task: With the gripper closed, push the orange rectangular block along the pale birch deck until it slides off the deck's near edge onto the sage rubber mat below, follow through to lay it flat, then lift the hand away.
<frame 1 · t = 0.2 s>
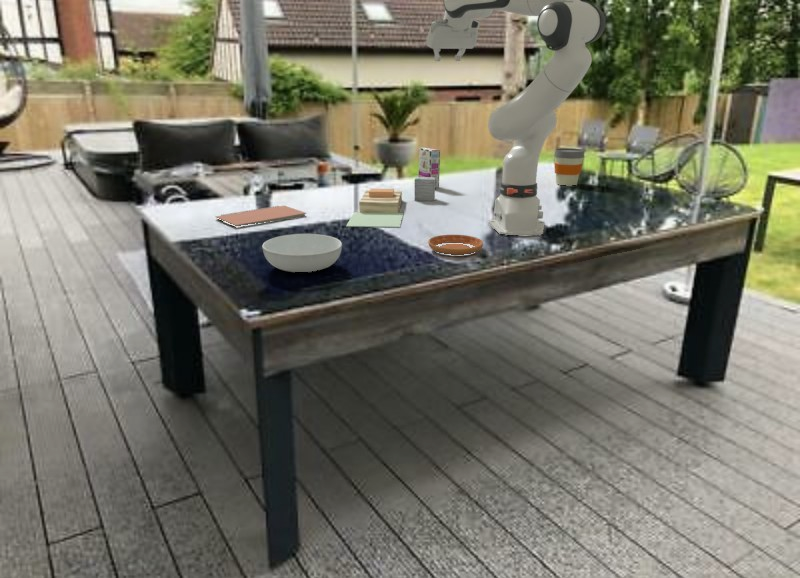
hand: (447, 60, 223), 52 cm above the table, tool tilted 20°, fingers open, 8 cm apart
saucer: (455, 251, 185), on the table
orange rectangular block: (381, 195, 238), point 4 cm above the table, touching deck
notebook: (261, 219, 223), on the table
mat: (375, 219, 219), on the table
reusable coffee cup: (566, 184, 280), on the table
candy bar box: (428, 187, 275), on the table
medicine box: (424, 200, 250), on the table
serving bowl: (303, 268, 169), on the table
deck: (381, 206, 239), on the table
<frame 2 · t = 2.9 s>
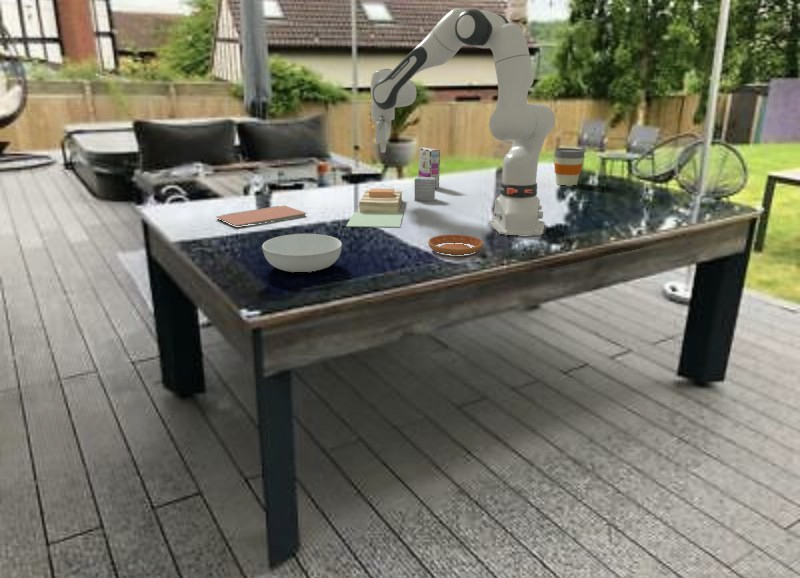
hand: (383, 152, 242), 19 cm above the table, tool pointing down, fingers closed
nothing on the table moved.
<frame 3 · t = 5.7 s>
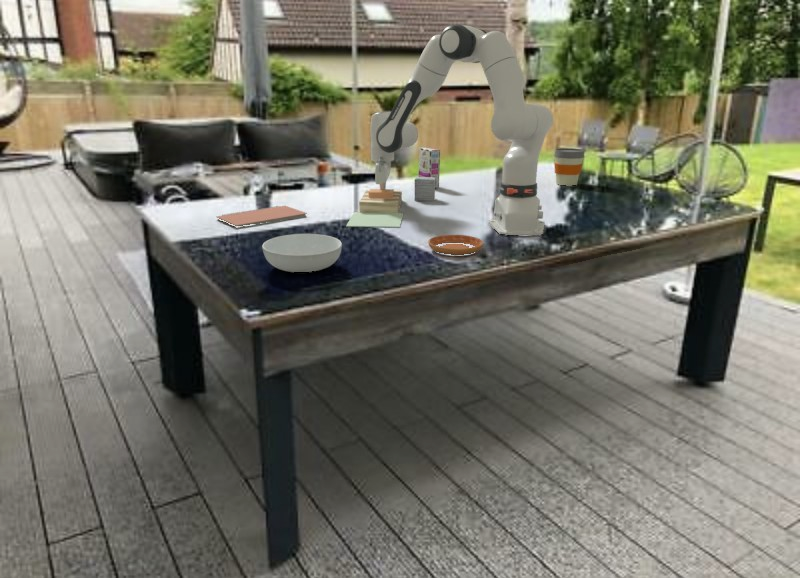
hand: (382, 192, 241), 5 cm above the table, tool pointing down, fingers closed
orange rectangular block: (381, 196, 237), point 4 cm above the table, touching gripper
everything else where it was.
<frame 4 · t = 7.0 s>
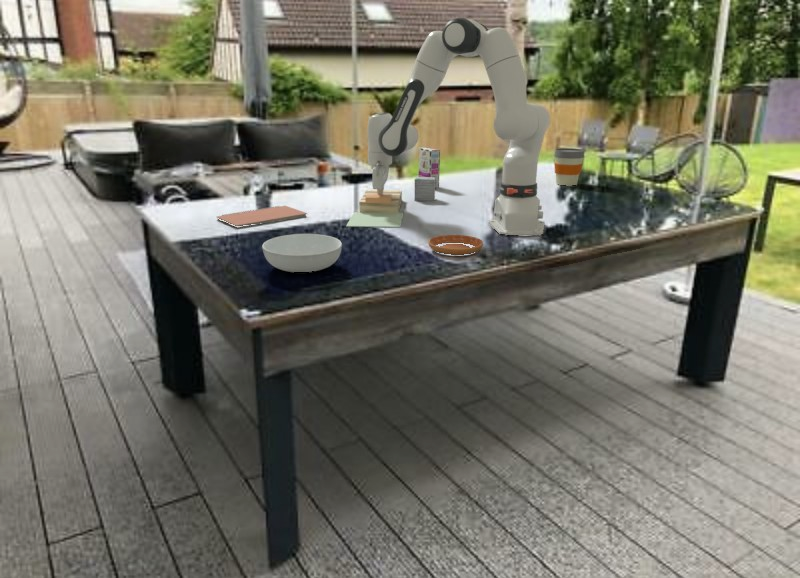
hand: (380, 197, 233), 5 cm above the table, tool pointing down, fingers closed
orange rectangular block: (378, 201, 229), point 4 cm above the table, touching deck, gripper
everything else where it was.
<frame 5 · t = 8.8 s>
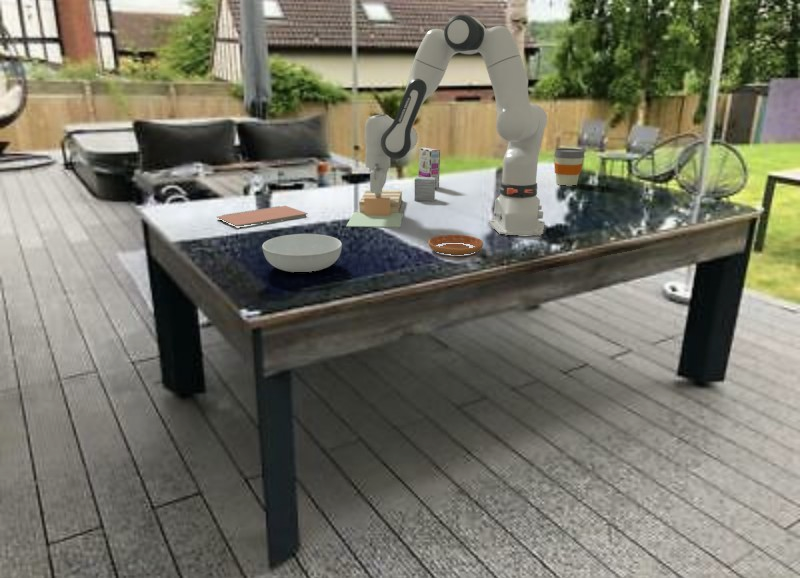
hand: (378, 200, 226), 5 cm above the table, tool pointing down, fingers closed
orange rectangular block: (377, 205, 225), point 3 cm above the table, tilted 90°, touching mat
everything else where it was.
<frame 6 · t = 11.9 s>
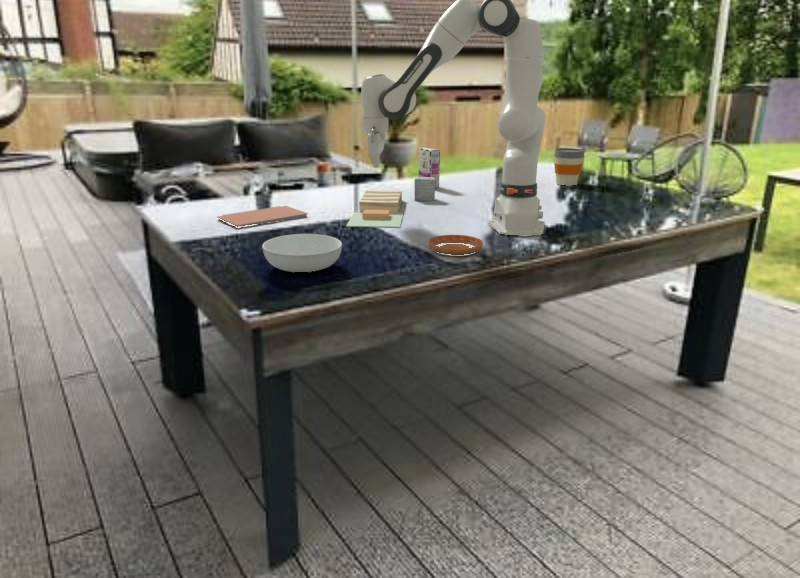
hand: (376, 167, 216), 18 cm above the table, tool pointing down, fingers closed
orange rectangular block: (376, 211, 221), point 2 cm above the table, tilted 180°, touching mat
everything else where it was.
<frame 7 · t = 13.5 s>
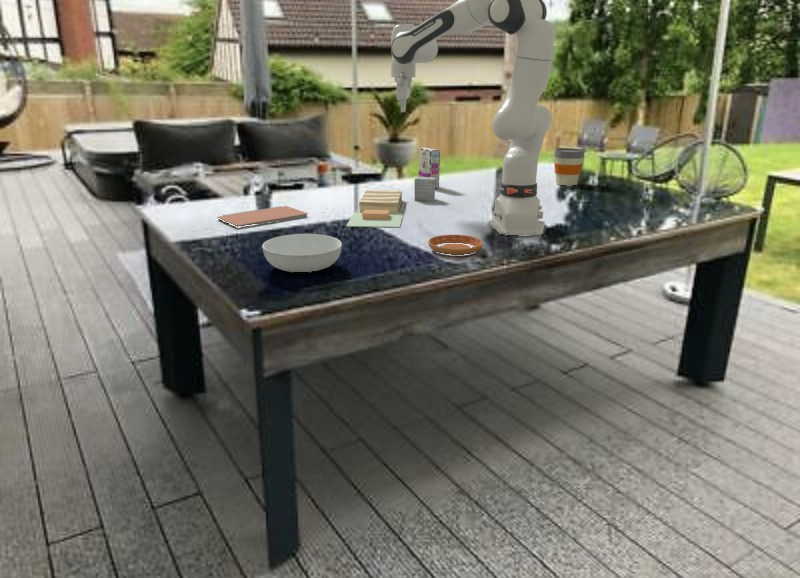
hand: (403, 111, 233), 34 cm above the table, tool pointing down, fingers closed
nothing on the table moved.
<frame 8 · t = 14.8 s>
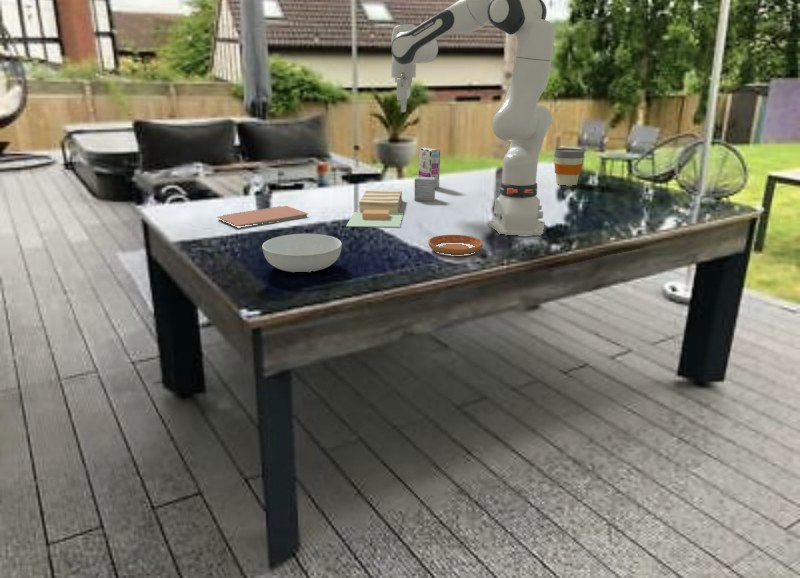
hand: (403, 111, 233), 34 cm above the table, tool pointing down, fingers closed
at the end: orange rectangular block point 2.3 cm above the table; orange rectangular block inside the target area on the mat (2.6 cm from its centre), point 2.3 cm above the mat's base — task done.
